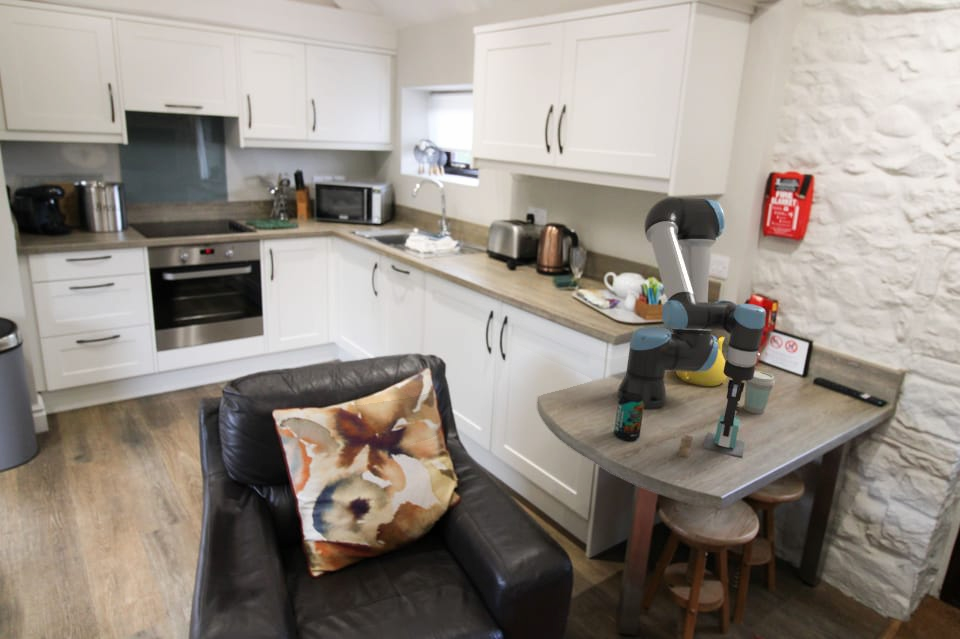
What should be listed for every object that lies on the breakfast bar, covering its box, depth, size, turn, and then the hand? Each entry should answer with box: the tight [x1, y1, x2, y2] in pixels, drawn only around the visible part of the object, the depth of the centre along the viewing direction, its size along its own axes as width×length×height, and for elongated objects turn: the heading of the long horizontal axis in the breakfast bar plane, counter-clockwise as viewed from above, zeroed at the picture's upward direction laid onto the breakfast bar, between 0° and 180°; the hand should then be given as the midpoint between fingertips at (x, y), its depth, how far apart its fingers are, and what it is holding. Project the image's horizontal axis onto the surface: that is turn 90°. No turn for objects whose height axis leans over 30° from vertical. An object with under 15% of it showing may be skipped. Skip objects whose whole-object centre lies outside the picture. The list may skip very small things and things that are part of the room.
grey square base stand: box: [702, 432, 745, 458], centre depth 172 cm, size 10×10×7 cm
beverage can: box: [613, 392, 645, 442], centre depth 173 cm, size 7×7×12 cm
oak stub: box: [677, 434, 694, 458], centre depth 166 cm, size 3×3×5 cm
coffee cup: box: [743, 370, 776, 415], centre depth 197 cm, size 8×8×12 cm
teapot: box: [675, 336, 728, 387], centre depth 222 cm, size 25×18×14 cm
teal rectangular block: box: [714, 414, 741, 448], centre depth 172 cm, size 5×5×7 cm
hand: (725, 438), depth 173 cm, fingers open, 9 cm apart
